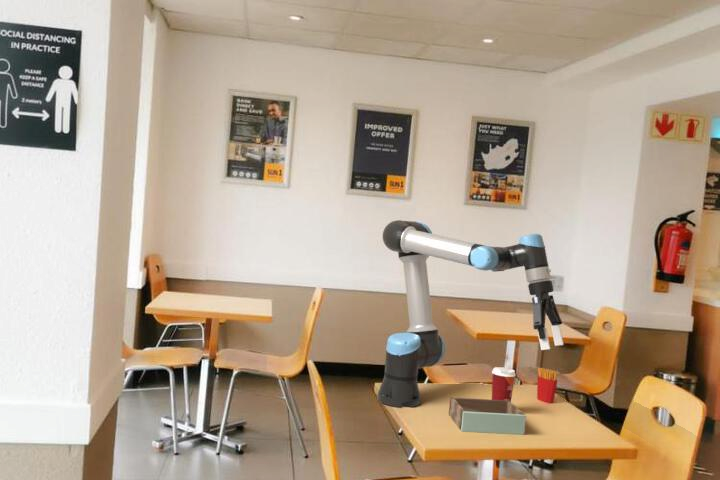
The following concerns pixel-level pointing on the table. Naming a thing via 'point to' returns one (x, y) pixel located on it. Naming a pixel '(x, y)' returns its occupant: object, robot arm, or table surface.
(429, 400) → the table surface
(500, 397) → the coffee cup
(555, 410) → the table surface
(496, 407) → the crate
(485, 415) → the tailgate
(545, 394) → the french fries
